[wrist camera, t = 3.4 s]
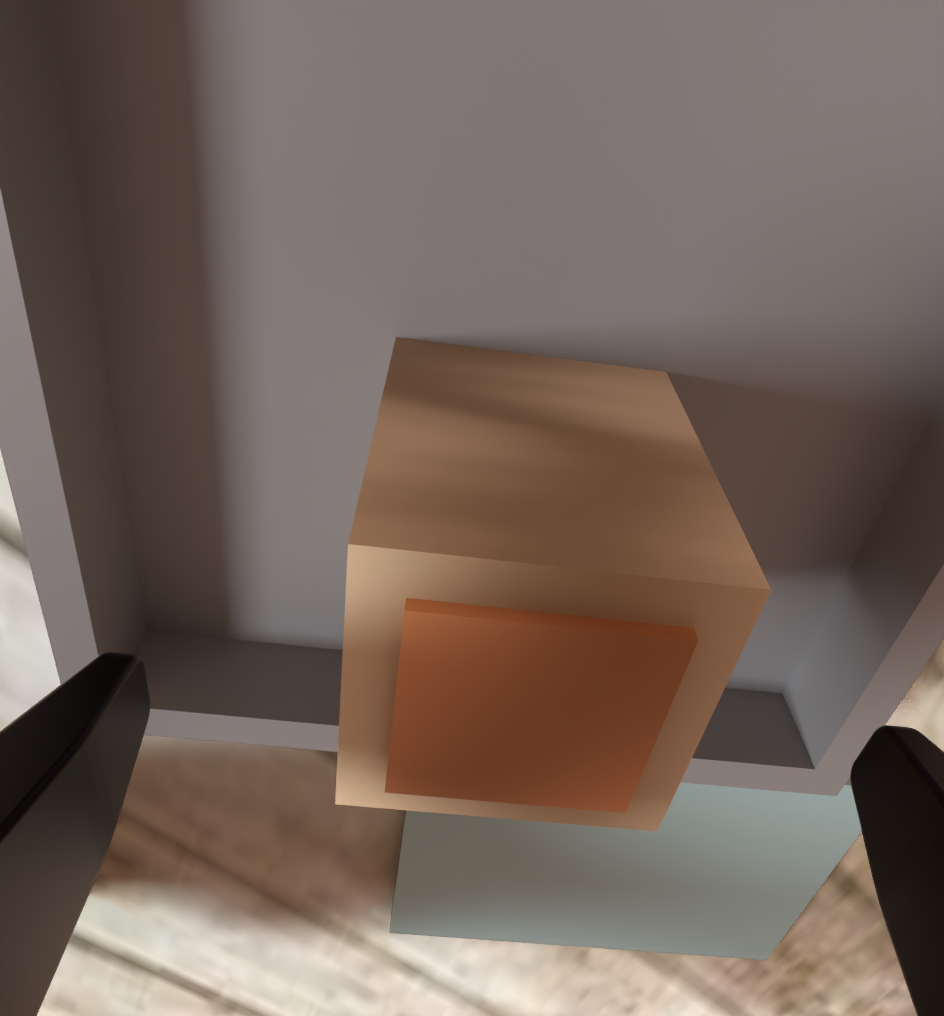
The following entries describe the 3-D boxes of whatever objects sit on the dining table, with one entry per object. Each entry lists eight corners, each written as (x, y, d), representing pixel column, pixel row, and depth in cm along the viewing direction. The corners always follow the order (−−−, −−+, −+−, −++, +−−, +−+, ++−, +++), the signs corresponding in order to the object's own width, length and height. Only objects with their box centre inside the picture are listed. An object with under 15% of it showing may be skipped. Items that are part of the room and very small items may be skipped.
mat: (391, 916, 24) (389, 932, 23) (416, 729, 19) (416, 746, 18) (761, 943, 25) (766, 960, 24) (883, 772, 19) (892, 789, 19)
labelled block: (378, 553, 15) (332, 817, 10) (396, 337, 12) (345, 555, 8) (604, 578, 15) (659, 844, 10) (666, 372, 13) (777, 602, 8)
